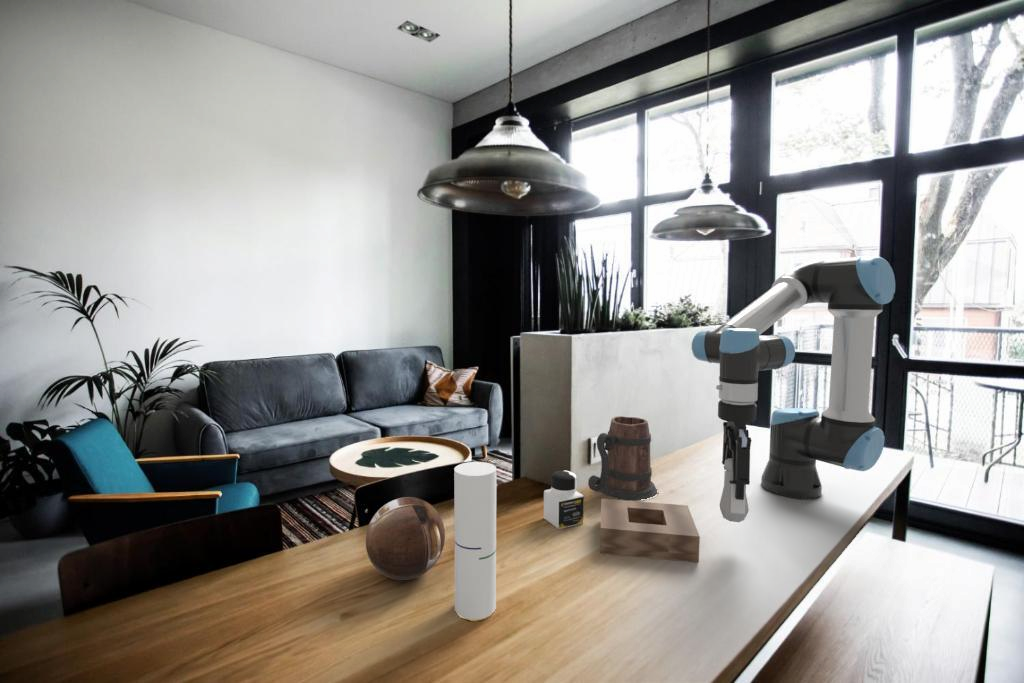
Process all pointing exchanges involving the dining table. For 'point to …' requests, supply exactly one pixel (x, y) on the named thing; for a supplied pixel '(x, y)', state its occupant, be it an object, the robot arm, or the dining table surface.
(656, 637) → the dining table surface
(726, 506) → the salt shaker
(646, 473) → the tankard
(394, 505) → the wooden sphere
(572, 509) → the medicine bottle
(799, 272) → the robot arm
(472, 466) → the cylindrical container
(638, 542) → the walnut socket block
